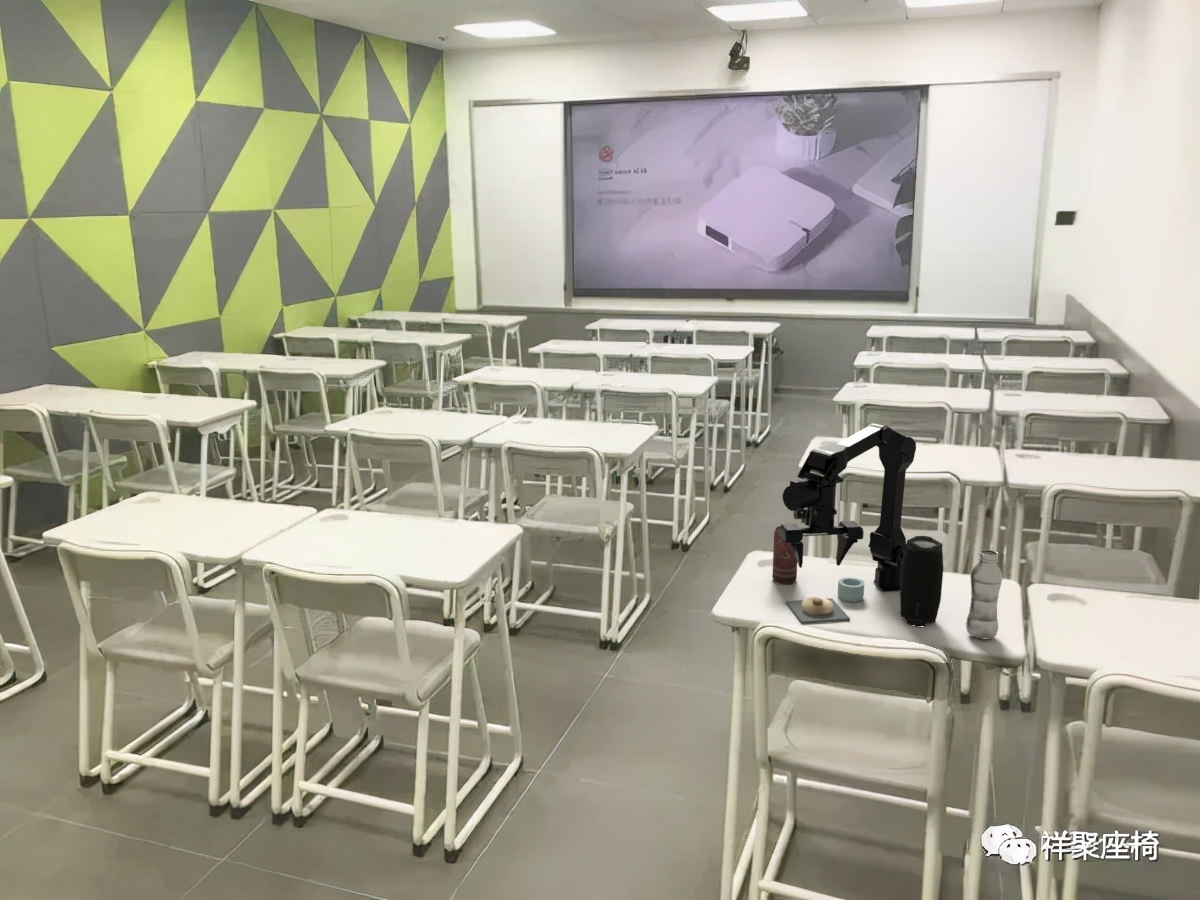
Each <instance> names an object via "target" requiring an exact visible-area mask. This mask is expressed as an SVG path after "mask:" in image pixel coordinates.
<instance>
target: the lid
mask: <svg viewBox="0 0 1200 900" xmlns="http://www.w3.org/2000/svg"><path fill="white" fill-rule="evenodd" d="M828 599H829V598H823V597H820V596H819V597H817V596H813V597H812V596H811V597H810V596H809V597H806V598H804V599H802V600H803V601H802V610H803V611H804V612H805V613H807V614H810V615H815V616H825V615H829V614H831V613H832V612H833V603H832V602H831V601H830V600H828Z"/></svg>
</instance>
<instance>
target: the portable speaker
mask: <svg viewBox="0 0 1200 900" xmlns="http://www.w3.org/2000/svg"><path fill="white" fill-rule="evenodd" d="M943 544H944V543H943V542H940V541H938V540H936V539H935V538H933V537H932V536H927V535H915V536H913V537H912V538H909V539H906V548H905V552H904V557H903V561H902V571H901V585H900V591H899V606H900V607H899V610H900V612H899V613H900V616H901V617H902V618H903V619H904V620H905V622H906V624H907V625H909V626H910V625H915V626H914V627H916V626H925V627H926V626H927V625H928V624H931V623H933V622H935V623H936V622H937V621H936V620H937V617H938V613H939V608H940V604H941V600H942V588H943V576H944V556H943Z"/></svg>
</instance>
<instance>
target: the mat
mask: <svg viewBox="0 0 1200 900" xmlns="http://www.w3.org/2000/svg"><path fill="white" fill-rule="evenodd" d="M827 599H828V600H830V601H831V602H832V603H833V612H832V613H831V614H829V615H825V616H815V615H810V614H807V613H805V612H804V611H803V610H802V601H803V600H804V599H801V600H799V599H798V600H786V601H785V604H786V606H787V607H788V608H789V609H790V611H791V612H792V613H793V614H794V616H795V617H796V619H797V620H798V621H799V622H800V623H801V624H802V625H804V624H818V623H834V622H850V621H851V617H850V616H849V615H848V614H847V613H846V612H845V611H844V610H843V609H842V608H841V606H839V604H838V603H837V602H836V601H835V600H834V598H832V597H831V598H829V597H828V598H827Z"/></svg>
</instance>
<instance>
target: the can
mask: <svg viewBox="0 0 1200 900" xmlns="http://www.w3.org/2000/svg"><path fill="white" fill-rule="evenodd" d="M780 526H781V525H780ZM780 526H776V528H775V529H774V532H773V552H772V553H773V554H772V573H771V574H772V575H771V576H772V580H773V581H774V582H775V583H777V584H780V583H781V585H791V584H794V583H796V581H797V578H798V577H797V576H798V562H797V559H796V556H795V553H794V550H793V547H792V546H791V545H790V544H789V543H786V542H785V541H784V540H783V539H782V538H781V537H780V536H779V527H780Z"/></svg>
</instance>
